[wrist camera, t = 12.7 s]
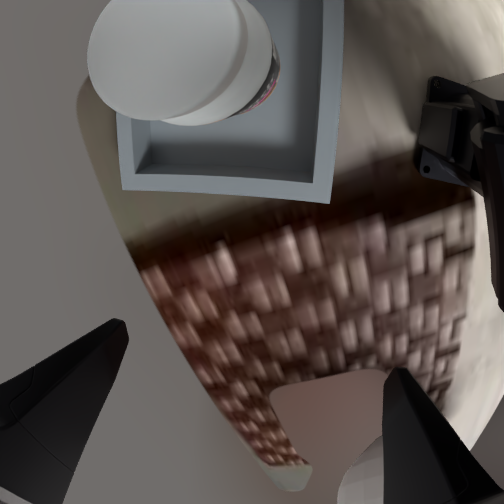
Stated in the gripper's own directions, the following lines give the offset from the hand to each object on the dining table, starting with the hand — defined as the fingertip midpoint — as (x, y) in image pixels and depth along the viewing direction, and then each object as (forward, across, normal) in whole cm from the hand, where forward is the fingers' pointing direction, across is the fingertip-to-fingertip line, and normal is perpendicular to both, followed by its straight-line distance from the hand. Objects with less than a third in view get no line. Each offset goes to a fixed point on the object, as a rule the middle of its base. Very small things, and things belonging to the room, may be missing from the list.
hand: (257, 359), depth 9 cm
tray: (+12, +4, -9) cm, 15 cm away
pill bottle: (+12, +4, -9) cm, 15 cm away
